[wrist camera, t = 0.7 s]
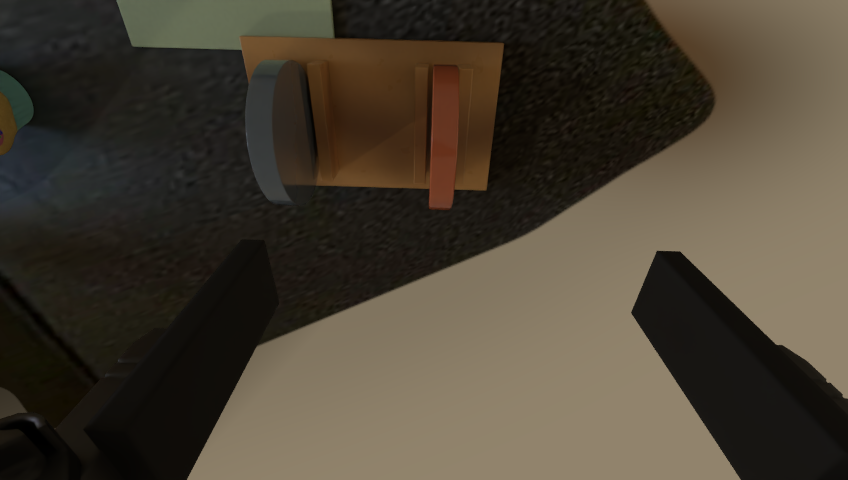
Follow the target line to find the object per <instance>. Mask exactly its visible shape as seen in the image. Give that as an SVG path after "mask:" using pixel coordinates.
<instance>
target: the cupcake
mask: <svg viewBox="0 0 848 480" xmlns="http://www.w3.org/2000/svg"><path fill="white" fill-rule="evenodd" d="M33 113H34V108H33V104H32V101H31V98H30V96H29V95H28V93H27V92H26V90H25V89H24V88H23V86H22V85H21V84H20V83H19V82H18V81H17V80H15V79H14V78H13V77H12V76H10V75H9V74H7V73H5V72H3V71H1V70H0V155H3V154H5V153H7V152H8V151H9V150H10V149H11V147H12V144H13V142H14V137H15V135H16V133H17V131H18V130H19V129H20V128H22V127H23V126H24V125H25V124H27V123H28V122H29V121H30V120H31V119H32V117H33Z"/></svg>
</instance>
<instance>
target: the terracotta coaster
mask: <svg viewBox="0 0 848 480" xmlns="http://www.w3.org/2000/svg"><path fill="white" fill-rule="evenodd" d="M458 132H459V70H458V65H457V64H433V80H432V108H431V138H430V171H429V209H430V210H450V209H451V207H452V203H453V197H454V189H455V179H456V166H457V152H458Z"/></svg>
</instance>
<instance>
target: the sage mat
mask: <svg viewBox="0 0 848 480" xmlns="http://www.w3.org/2000/svg"><path fill="white" fill-rule="evenodd" d="M117 3H118V6H119V9H120V12H121V15H122V17H123V20H124V23H125V26H126V29H127V32H128V35H129V38H130V41H131V44H132V46H133V47H162V48H197V49H233V50H242V48H241V43H240V38H239V36H244V35H246V36H282V37H317V38H335V34H334V23H333V11H332V0H117Z"/></svg>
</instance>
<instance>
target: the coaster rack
mask: <svg viewBox="0 0 848 480" xmlns="http://www.w3.org/2000/svg"><path fill="white" fill-rule="evenodd" d="M239 38H240V43H241V48H242V53H243V57H244V62H245V67H246V72H247V77H248V81H249V83H250V79H251V76H252V74H253V72H254V70H255V68H256V67H257V65H258V64H259V63H260V62H261V61H263V60H265V59H288V60H295V61H297V62H298V63H299V64H300V65H301V66H302V67H303V69H304V70H305V72H306V74H307V76H308V81H309V88H310V96H311V104H312V112H313V119H314V127H315V135H316V142H317V150H318V158H319V173H318V178H317V183H316V185H324V186H357V187H391V188H425V189H429V171H430V138H431V108H432V80H433V64H457V65H458V70H459V132H458V152H457V166H456V179H455V189H458V190H486V189H487V180H488V172H489V164H490V156H491V147H492V139H493V131H494V122H495V114H496V106H497V98H498V89H499V81H500V73H501V64H502V56H503V48H504V43H501V42H472V41H436V40H400V39H364V38H317V37H282V36H246V35H244V36H239Z"/></svg>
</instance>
